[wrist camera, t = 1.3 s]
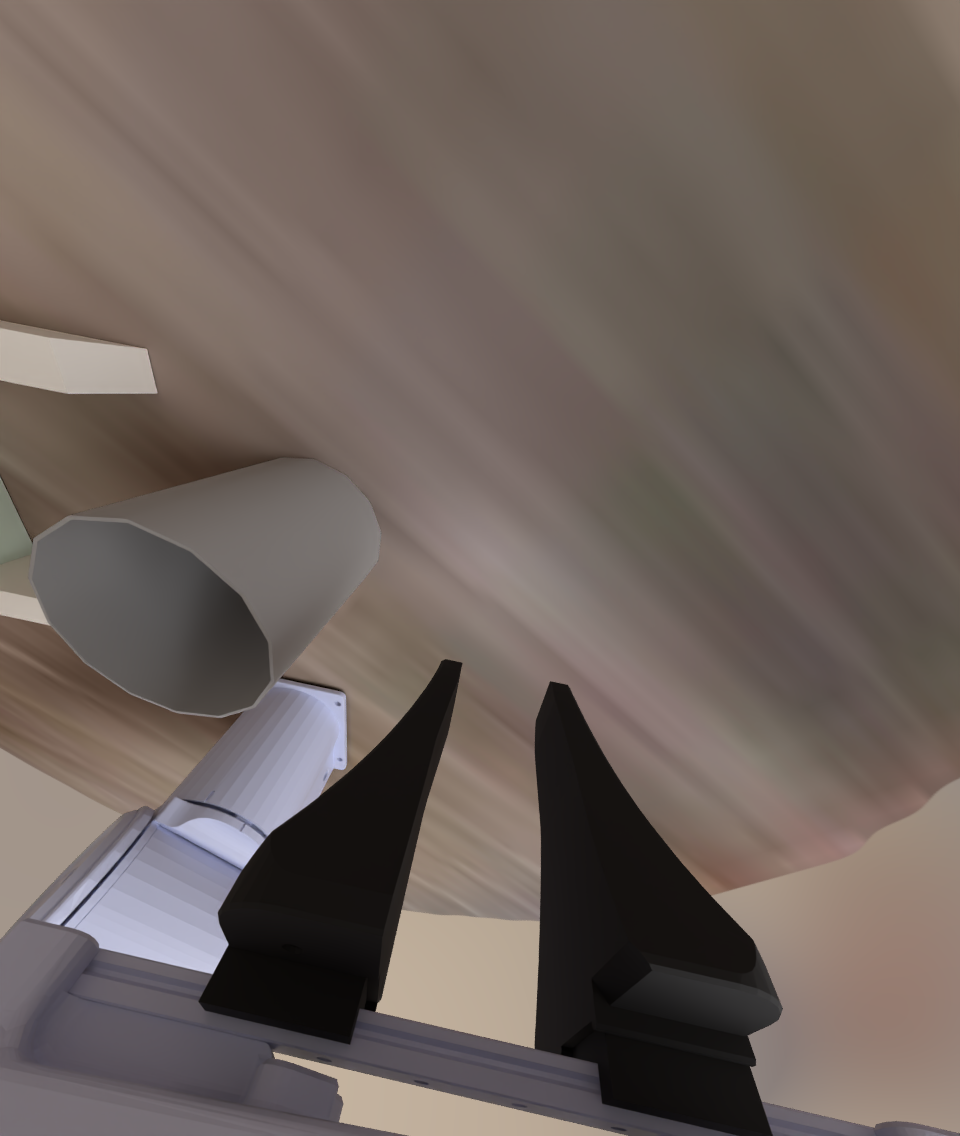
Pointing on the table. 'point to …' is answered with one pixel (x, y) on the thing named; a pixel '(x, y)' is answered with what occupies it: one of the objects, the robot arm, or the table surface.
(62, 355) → the stall
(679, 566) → the table surface
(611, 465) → the table surface
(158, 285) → the table surface
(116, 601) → the cup
